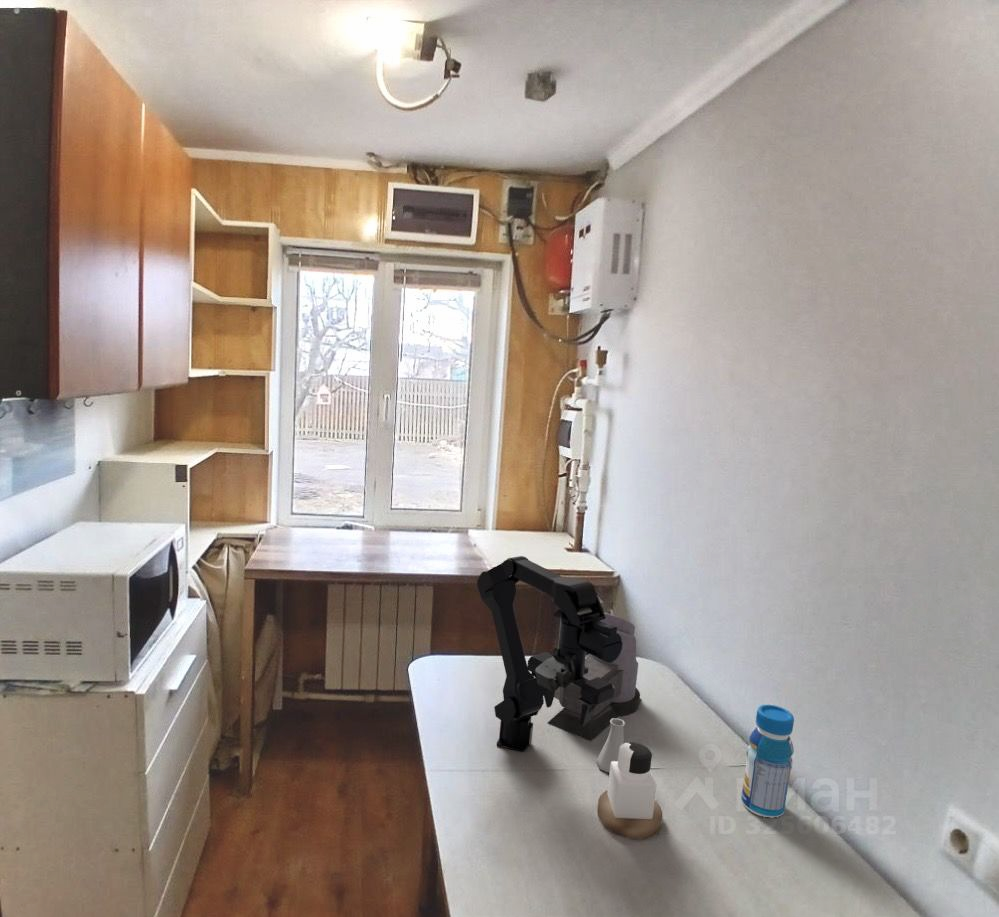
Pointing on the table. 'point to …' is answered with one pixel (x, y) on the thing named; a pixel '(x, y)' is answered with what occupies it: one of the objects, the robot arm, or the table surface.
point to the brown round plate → (628, 821)
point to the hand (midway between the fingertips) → (565, 716)
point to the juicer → (615, 672)
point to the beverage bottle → (768, 762)
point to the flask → (611, 745)
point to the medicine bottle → (632, 783)
